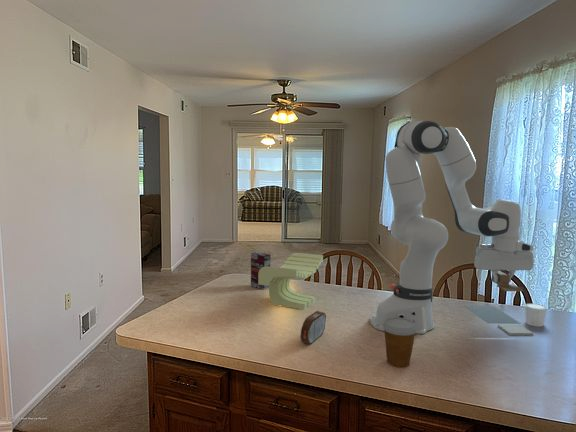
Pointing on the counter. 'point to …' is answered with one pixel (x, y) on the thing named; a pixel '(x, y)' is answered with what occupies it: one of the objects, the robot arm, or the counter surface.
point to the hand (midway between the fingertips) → (502, 281)
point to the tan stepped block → (505, 282)
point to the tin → (313, 327)
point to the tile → (514, 329)
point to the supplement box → (258, 267)
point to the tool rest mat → (492, 314)
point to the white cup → (535, 314)
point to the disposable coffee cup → (399, 340)
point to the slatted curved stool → (280, 278)
